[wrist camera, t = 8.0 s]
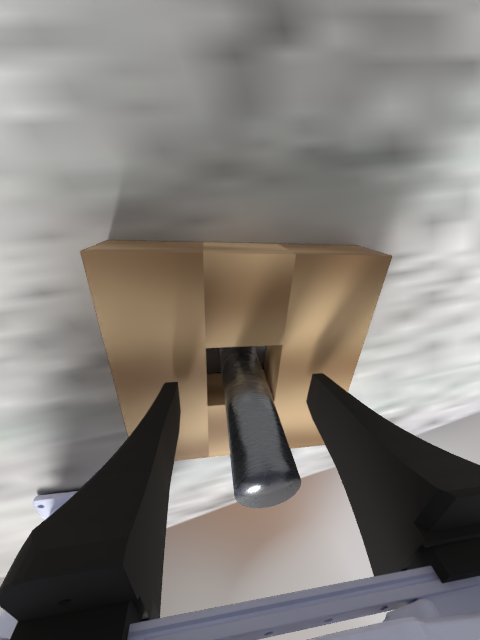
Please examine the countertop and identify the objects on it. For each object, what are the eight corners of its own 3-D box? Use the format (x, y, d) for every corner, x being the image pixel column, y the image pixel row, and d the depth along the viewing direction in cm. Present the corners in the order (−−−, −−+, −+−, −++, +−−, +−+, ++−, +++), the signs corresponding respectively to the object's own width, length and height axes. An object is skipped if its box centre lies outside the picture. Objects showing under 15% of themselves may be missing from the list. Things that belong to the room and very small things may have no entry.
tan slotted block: (314, 412, 20) (330, 444, 18) (145, 426, 18) (135, 464, 16) (356, 245, 14) (392, 255, 11) (107, 240, 12) (80, 251, 9)
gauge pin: (250, 363, 17) (290, 506, 9) (217, 360, 16) (229, 509, 9) (257, 334, 16) (309, 467, 8) (222, 331, 15) (241, 469, 8)
